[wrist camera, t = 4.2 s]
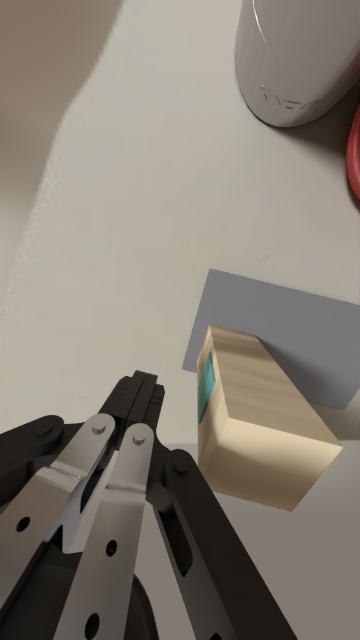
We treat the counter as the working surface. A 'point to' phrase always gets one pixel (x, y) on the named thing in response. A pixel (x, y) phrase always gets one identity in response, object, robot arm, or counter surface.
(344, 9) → the robot arm
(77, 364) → the counter surface
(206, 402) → the maple block
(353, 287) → the counter surface
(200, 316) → the rubber mat
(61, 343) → the counter surface
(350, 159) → the plant pot
